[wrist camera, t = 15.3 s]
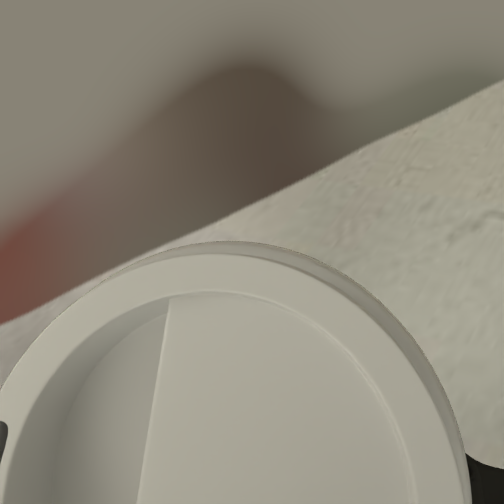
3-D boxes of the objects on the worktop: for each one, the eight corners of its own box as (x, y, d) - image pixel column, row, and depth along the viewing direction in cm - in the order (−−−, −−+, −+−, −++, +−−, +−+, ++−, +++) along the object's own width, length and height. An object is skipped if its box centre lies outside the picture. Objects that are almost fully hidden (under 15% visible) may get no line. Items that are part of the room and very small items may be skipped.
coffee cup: (229, 281, 22) (119, 136, 8) (385, 362, 20) (620, 367, 6) (142, 438, 20) (-212, 625, 6) (305, 544, 18) (360, 1213, 4)
